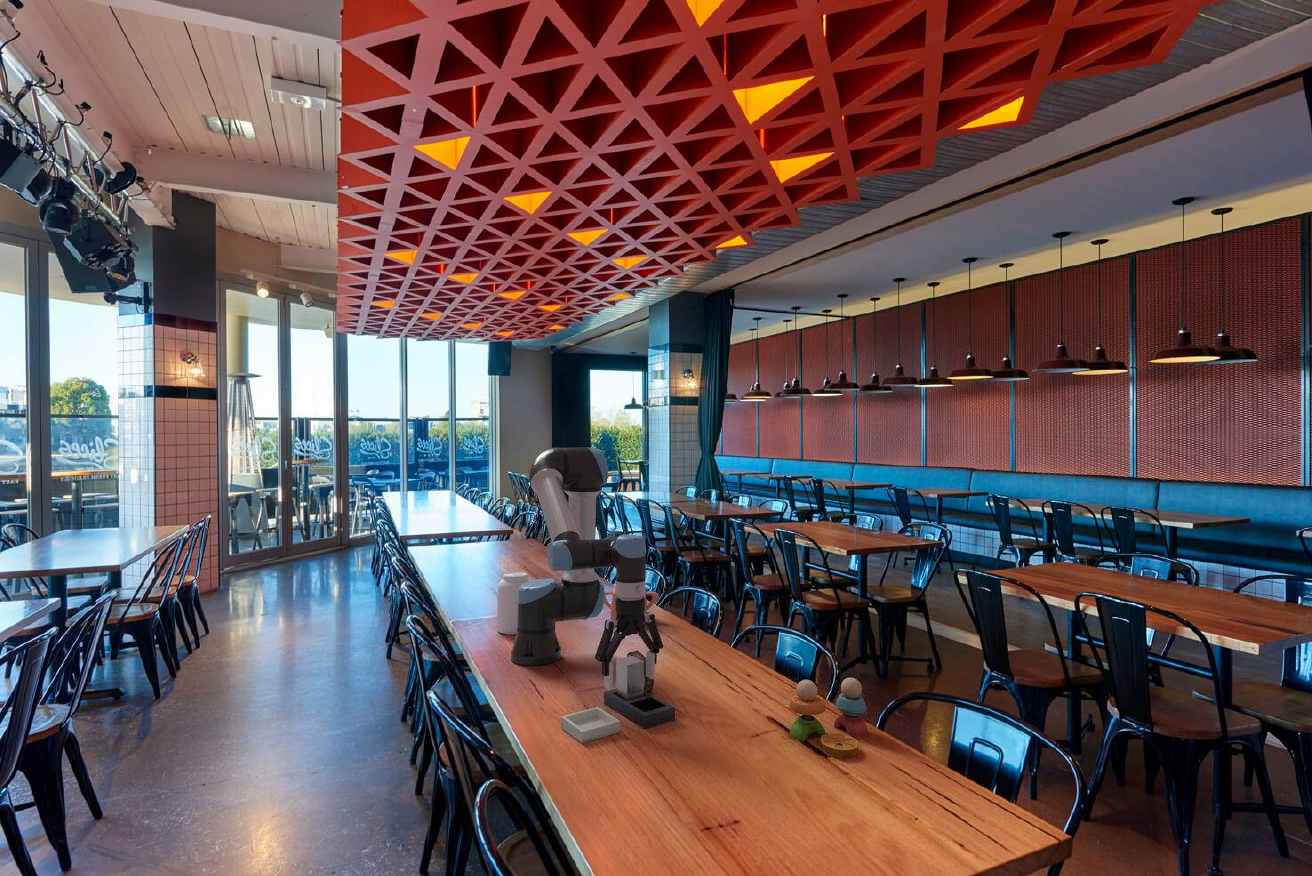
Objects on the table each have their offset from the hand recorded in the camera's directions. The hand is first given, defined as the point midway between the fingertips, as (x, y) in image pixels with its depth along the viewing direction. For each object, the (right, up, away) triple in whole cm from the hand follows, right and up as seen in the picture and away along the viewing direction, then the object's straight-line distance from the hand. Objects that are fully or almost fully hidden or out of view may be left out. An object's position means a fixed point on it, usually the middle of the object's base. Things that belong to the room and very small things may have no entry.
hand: (629, 682), depth 165 cm
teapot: (-3, -7, +81) cm, 81 cm away
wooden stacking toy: (+48, -7, -17) cm, 51 cm away
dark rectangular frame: (+2, -6, -3) cm, 7 cm away
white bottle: (-43, -6, +65) cm, 78 cm away
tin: (+2, -6, +14) cm, 15 cm away
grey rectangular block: (0, -5, 0) cm, 5 cm away
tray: (-9, -6, -14) cm, 17 cm away
